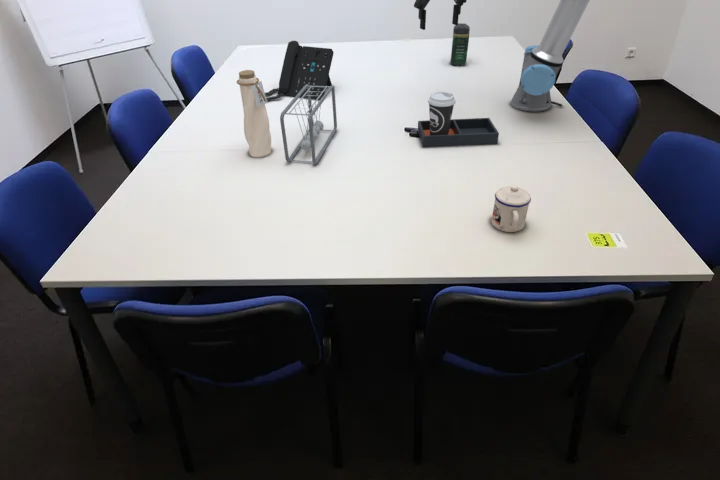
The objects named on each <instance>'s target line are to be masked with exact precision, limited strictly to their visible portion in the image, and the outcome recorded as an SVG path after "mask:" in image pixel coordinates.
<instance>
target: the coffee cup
mask: <svg viewBox="0 0 720 480" xmlns="http://www.w3.org/2000/svg"><path fill="white" fill-rule="evenodd" d="M427 103H428V110H429V111H428V112H429V113H428V114H429V116H428V117H429V120H430V135H448V134H449V128H450V123H451V119H452V116H453V111H454V106H455V104H456V103H457V101H456V98H455V95H454V94H453V93H451V92H448V91H434V92H432V93H431V94H430V95H429V97H428V99H427Z"/></svg>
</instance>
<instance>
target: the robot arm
mask: <svg viewBox="0 0 720 480" xmlns="http://www.w3.org/2000/svg"><path fill="white" fill-rule="evenodd" d="M430 1H431V0H415V1H414V4H413V8H414V9H417V10H418V15H417V16H418V20H419V29H420V30H423V31H425V30H426V22H427V9H425V8H426V7H427V6H428V5H429V3H430ZM453 1H454V3H455V4H453V7H452V9H453V10H452V21H451V23H452V25H454V26H455V25H458V23H459V16H460V15H461V13H462V12H461V11H462V6H464V4H465V3H467V0H453ZM590 1H591V0H559V2H558V5H557V6H556V9H555V11H554V13H553V15H552V17H551V20H550V22H549V24H548V26H547V28H546V30H545V32H544V35H543V36H542V39H541V41H540V43H539V45H536V44H535V45H529V46H527V47H525V51H524V53H523V61H522V66H521V71H520V72H521V73H520V78H519V83H518V87H517V88H516V91H515V92H514V94H513V96H512V98H511V106H512V107H513V108H515V109H517V110H520V111H522V112H528V113H540V112H545V111H547V110H549V109H550V108H551V106H552V105H555V106H558V107H562V106H563V104H562V103H559V102H556V101H553V100H552V97H551V90H552V88H553V87H554V85H555V83H556V79H557V75H558V73H559V71H560V70H561V67H562V65H563V64H564V58H563V54H564V51H565V50H566V48H567V46H568V44H569V42H570V40H571V38H572V36H573V34H574V32H575V30H576V28H577V26H578V24H579V22H580V21H581V18H582V16H583V15H584V13H585V10H586V8H587V6H588V4H589V3H590Z"/></svg>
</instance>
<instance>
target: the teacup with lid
mask: <svg viewBox="0 0 720 480" xmlns="http://www.w3.org/2000/svg"><path fill="white" fill-rule="evenodd" d="M531 202H532V197H531V194H530V193H529V192H528V190H525V189H524V188H522V187H519V186H518V185H516V184H512V185H510V186H509V185H508V186H503V187H500V188H498V189H497V190H496V191H495V192H494V204H493V209H492V215H491V224H492V225H493V227H495V229H497V230H499V231H502V232H506V233H515V232H519V231H521V230H523V228H524V227H525V224H526V220H527V215H528V210H529V205H530V204H531Z"/></svg>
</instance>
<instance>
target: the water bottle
mask: <svg viewBox="0 0 720 480" xmlns="http://www.w3.org/2000/svg"><path fill="white" fill-rule="evenodd" d="M236 84H237V85H239V91H240V96H241V102H242V109H243V132H244V137H245V141H246V143H247V145H248V152H249V156H251V157H253V158H264V157H266V156H268V155H270V154H271V153H272V135H271V134H272V133H271V131H270V119H269V115H268V111H267V108H266V104H267V103H268V101H267V99H266V98H267V96H265V93H266V92H265V89H264V86H263V82H262V80H260V79H259V78H258V77H257V76H256V74H255V71H254V70H252V69H244V70H240V71H239V72H238V79H237V81H236Z"/></svg>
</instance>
